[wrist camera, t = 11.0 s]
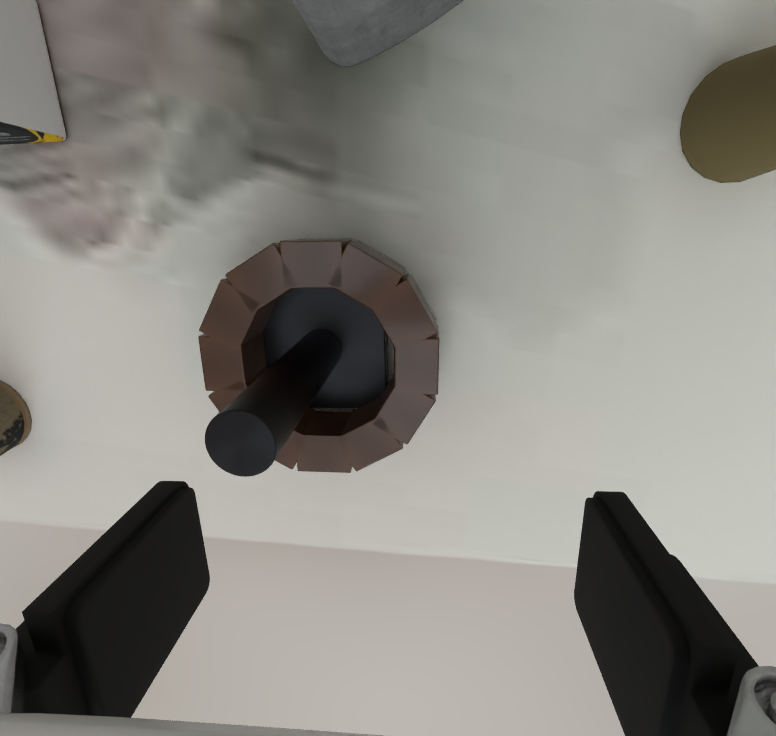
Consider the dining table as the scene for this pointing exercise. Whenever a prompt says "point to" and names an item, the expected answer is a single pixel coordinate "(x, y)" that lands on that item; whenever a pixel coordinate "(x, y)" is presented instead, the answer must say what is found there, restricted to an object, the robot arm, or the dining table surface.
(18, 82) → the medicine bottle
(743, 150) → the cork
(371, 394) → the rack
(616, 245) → the dining table surface
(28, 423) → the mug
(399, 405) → the hoop
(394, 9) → the hip flask
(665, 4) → the dining table surface
